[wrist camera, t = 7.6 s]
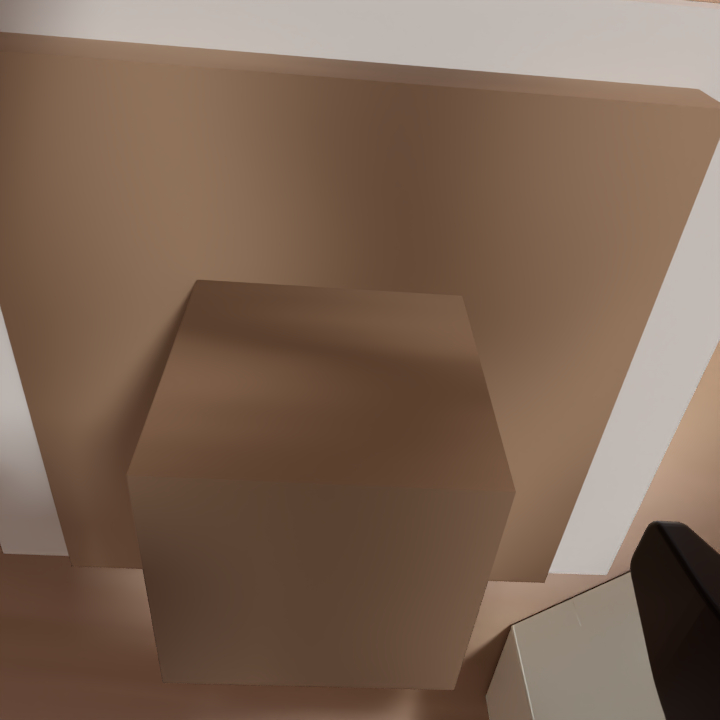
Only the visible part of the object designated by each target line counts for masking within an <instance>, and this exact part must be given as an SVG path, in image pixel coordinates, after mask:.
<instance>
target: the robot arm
mask: <svg viewBox="0 0 720 720" xmlns="http://www.w3.org/2000/svg"><path fill="white" fill-rule="evenodd" d="M630 572H631V579H632V583H633V588H634V593H635V597H636V602H637V607H638V611H639V616H640V621H641V625H642V630H643V635H644V639H645V644H646V649H647V653H648V658H649V663H650V667H651V671H652V675H653V680H654V684H655V687H656V690H657V694H658V697H659V700H660V703H661V707H662V710H663V713H664V716H665V719H666V720H720V554H719V553H717V552H716V551H715V550H714V549H713V548H712V547H711V546H710V545H708V544H707V543H706V542H705V541H704V540H703V539H702V538H701V537H699V536H698V535H697V534H696V533H695V532H694V531H693V530H691V529H690V528H689V527H688V526H686V525H685V524H683V523H680V522H671V521H653V522H652V523H650V524H649V525H648V527H647V528H646V530H645V532H644V534H643V536H642V538H641V540H640V542H639V544H638V546H637V548H636V550H635V552H634V554H633V556H632V559H631V565H630Z"/></svg>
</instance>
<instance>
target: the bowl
mask: <svg viewBox="0 0 720 720" xmlns="http://www.w3.org/2000/svg"><path fill="white" fill-rule="evenodd" d="M485 697H486V703H487V708H488V714H489V720H666V719H665V716H664V713H663V710H662V707H661V703H660V700H659V697H658V694H657V690H656V687H655V684H654V680H653V675H652V671H651V667H650V663H649V658H648V653H647V649H646V644H645V639H644V635H643V630H642V625H641V621H640V616H639V611H638V607H637V602H636V597H635V593H634V588H633V583H632V579H631V572H629V573H627V574H625V575H622V576H620V577H618V578H616V579H614V580H611V581H609V582H607V583H605V584H603V585H600V586H598V587H596V588H594V589H592V590H589V591H587V592H585V593H583V594H581V595H578V596H576V597H574V598H572V599H570V600H567V601H565V602H563V603H561V604H559V605H556V606H554V607H552V608H550V609H548V610H545V611H543V612H541V613H539V614H537V615H534V616H532V617H530V618H528V619H526V620H523V621H521V622H519V623H517V624H515V625H512V626H511V630H510V632H509V635H508V638H507V640H506V643H505V646H504V648H503V651H502V654H501V657H500V659H499V662H498V665H497V667H496V670H495V673H494V675H493V678H492V681H491V683H490V686H489V689H488V692H487V694H486V695H485Z"/></svg>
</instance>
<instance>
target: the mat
mask: <svg viewBox="0 0 720 720" xmlns="http://www.w3.org/2000/svg"><path fill="white" fill-rule="evenodd" d="M0 32H10V33H22V34H34V35H47V36H59V37H71V38H83V39H95V40H108V41H120V42H132V43H144V44H156V45H169V46H181V47H193V48H205V49H217V50H230V51H242V52H254V53H266V54H278V55H291V56H303V57H315V58H327V59H339V60H352V61H364V62H376V63H388V64H400V65H412V66H425V67H437V68H449V69H461V70H473V71H486V72H498V73H510V74H522V75H534V76H547V77H559V78H571V79H583V80H595V81H608V82H620V83H632V84H644V85H656V86H669V87H681V88H693V89H699V90H701V91H703V92H704V93H706V94H707V95H709V96H711V97H712V98H714V99H715V100H717V101H719V102H720V4H719V3H707V2H696V1H685V0H0ZM719 340H720V139H719V142H718V144H717V147H716V149H715V152H714V154H713V157H712V159H711V162H710V165H709V167H708V170H707V172H706V175H705V177H704V180H703V182H702V185H701V187H700V190H699V192H698V195H697V197H696V200H695V203H694V205H693V208H692V210H691V213H690V215H689V218H688V220H687V223H686V225H685V228H684V230H683V233H682V235H681V238H680V240H679V243H678V246H677V248H676V251H675V253H674V256H673V258H672V261H671V263H670V266H669V268H668V271H667V273H666V276H665V278H664V281H663V284H662V286H661V289H660V291H659V294H658V296H657V299H656V301H655V304H654V306H653V309H652V311H651V314H650V316H649V319H648V321H647V324H646V327H645V329H644V332H643V334H642V337H641V339H640V342H639V344H638V347H637V349H636V352H635V354H634V357H633V359H632V362H631V365H630V367H629V370H628V372H627V375H626V377H625V380H624V382H623V385H622V387H621V390H620V392H619V395H618V397H617V400H616V402H615V405H614V408H613V410H612V413H611V415H610V418H609V420H608V423H607V425H606V428H605V430H604V433H603V435H602V438H601V440H600V443H599V446H598V448H597V451H596V453H595V456H594V458H593V461H592V463H591V466H590V468H589V471H588V473H587V476H586V478H585V481H584V483H583V486H582V489H581V491H580V494H579V496H578V499H577V501H576V504H575V506H574V509H573V511H572V514H571V516H570V519H569V521H568V524H567V527H566V529H565V532H564V534H563V537H562V539H561V542H560V544H559V547H558V549H557V552H556V554H555V557H554V559H553V562H552V564H551V567H550V570H549V572H548V573H560V574H588V575H607V573H608V571H609V569H610V567H611V565H612V563H613V561H614V559H615V557H616V555H617V553H618V550H619V548H620V546H621V544H622V542H623V540H624V538H625V536H626V534H627V532H628V530H629V527H630V525H631V523H632V521H633V519H634V517H635V515H636V513H637V511H638V509H639V507H640V505H641V502H642V500H643V498H644V496H645V494H646V492H647V490H648V488H649V486H650V484H651V482H652V479H653V477H654V475H655V473H656V471H657V469H658V467H659V465H660V463H661V461H662V459H663V457H664V454H665V452H666V450H667V448H668V446H669V444H670V442H671V440H672V438H673V436H674V434H675V431H676V429H677V427H678V425H679V423H680V421H681V419H682V417H683V415H684V413H685V411H686V409H687V406H688V404H689V402H690V400H691V398H692V396H693V394H694V392H695V390H696V388H697V386H698V383H699V381H700V379H701V377H702V375H703V373H704V371H705V369H706V367H707V365H708V363H709V361H710V358H711V356H712V354H713V352H714V350H715V348H716V346H717V344H718V342H719ZM0 545H1V547H2V550H3V553H4V554H30V555H58V556H69V555H68V551H67V547H66V544H65V540H64V537H63V533H62V529H61V526H60V522H59V518H58V515H57V511H56V507H55V504H54V500H53V497H52V493H51V489H50V486H49V482H48V478H47V475H46V471H45V467H44V464H43V460H42V457H41V453H40V449H39V446H38V442H37V438H36V435H35V431H34V427H33V424H32V420H31V417H30V413H29V409H28V406H27V402H26V398H25V395H24V391H23V387H22V384H21V380H20V377H19V373H18V369H17V366H16V362H15V358H14V355H13V351H12V347H11V344H10V340H9V337H8V333H7V329H6V326H5V322H4V318H3V315H2V311H1V307H0Z"/></svg>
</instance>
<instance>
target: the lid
mask: <svg viewBox="0 0 720 720" xmlns="http://www.w3.org/2000/svg"><path fill="white" fill-rule="evenodd" d="M719 139H720V102H719V101H717V100H715V99H714V98H712V97H711V96H709V95H707V94H706V93H704V92H703V91H701V90H699V89H693V88H681V87H669V86H656V85H644V84H632V83H620V82H608V81H595V80H583V79H571V78H559V77H547V76H534V75H522V74H510V73H498V72H486V71H473V70H461V69H449V68H437V67H425V66H412V65H400V64H388V63H376V62H364V61H352V60H339V59H327V58H315V57H303V56H291V55H278V54H266V53H254V52H242V51H230V50H217V49H205V48H193V47H181V46H169V45H156V44H144V43H132V42H120V41H108V40H95V39H83V38H71V37H59V36H47V35H34V34H22V33H10V32H0V307H1V311H2V315H3V318H4V322H5V326H6V329H7V333H8V337H9V340H10V344H11V347H12V351H13V355H14V358H15V362H16V366H17V369H18V373H19V377H20V380H21V384H22V387H23V391H24V395H25V398H26V402H27V406H28V409H29V413H30V417H31V420H32V424H33V427H34V431H35V435H36V438H37V442H38V446H39V449H40V453H41V457H42V460H43V464H44V467H45V471H46V475H47V478H48V482H49V486H50V489H51V493H52V497H53V500H54V504H55V507H56V511H57V515H58V518H59V522H60V526H61V529H62V533H63V537H64V540H65V544H66V547H67V551H68V555H69V558H70V562H71V566H78V567H107V568H136V569H143V573H144V579H145V585H146V590H147V596H148V602H149V607H150V613H151V619H152V624H153V630H154V636H155V641H156V647H157V653H158V658H159V664H160V670H161V675H162V681H163V683H187V684H228V685H268V686H309V687H349V688H390V689H431V690H454V688H455V685H456V682H457V679H458V675H459V672H460V669H461V666H462V663H463V659H464V656H465V653H466V650H467V647H468V643H469V640H470V637H471V634H472V631H473V628H474V624H475V621H476V618H477V615H478V612H479V608H480V605H481V602H482V599H483V596H484V592H485V589H486V586H487V583H488V581H509V582H538V583H544V582H545V580H546V577H547V575H548V572H549V570H550V567H551V564H552V562H553V559H554V557H555V554H556V552H557V549H558V547H559V544H560V542H561V539H562V537H563V534H564V532H565V529H566V527H567V524H568V521H569V519H570V516H571V514H572V511H573V509H574V506H575V504H576V501H577V499H578V496H579V494H580V491H581V489H582V486H583V483H584V481H585V478H586V476H587V473H588V471H589V468H590V466H591V463H592V461H593V458H594V456H595V453H596V451H597V448H598V446H599V443H600V440H601V438H602V435H603V433H604V430H605V428H606V425H607V423H608V420H609V418H610V415H611V413H612V410H613V408H614V405H615V402H616V400H617V397H618V395H619V392H620V390H621V387H622V385H623V382H624V380H625V377H626V375H627V372H628V370H629V367H630V365H631V362H632V359H633V357H634V354H635V352H636V349H637V347H638V344H639V342H640V339H641V337H642V334H643V332H644V329H645V327H646V324H647V321H648V319H649V316H650V314H651V311H652V309H653V306H654V304H655V301H656V299H657V296H658V294H659V291H660V289H661V286H662V284H663V281H664V278H665V276H666V273H667V271H668V268H669V266H670V263H671V261H672V258H673V256H674V253H675V251H676V248H677V246H678V243H679V240H680V238H681V235H682V233H683V230H684V228H685V225H686V223H687V220H688V218H689V215H690V213H691V210H692V208H693V205H694V203H695V200H696V197H697V195H698V192H699V190H700V187H701V185H702V182H703V180H704V177H705V175H706V172H707V170H708V167H709V165H710V162H711V159H712V157H713V154H714V152H715V149H716V147H717V144H718V142H719Z"/></svg>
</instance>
